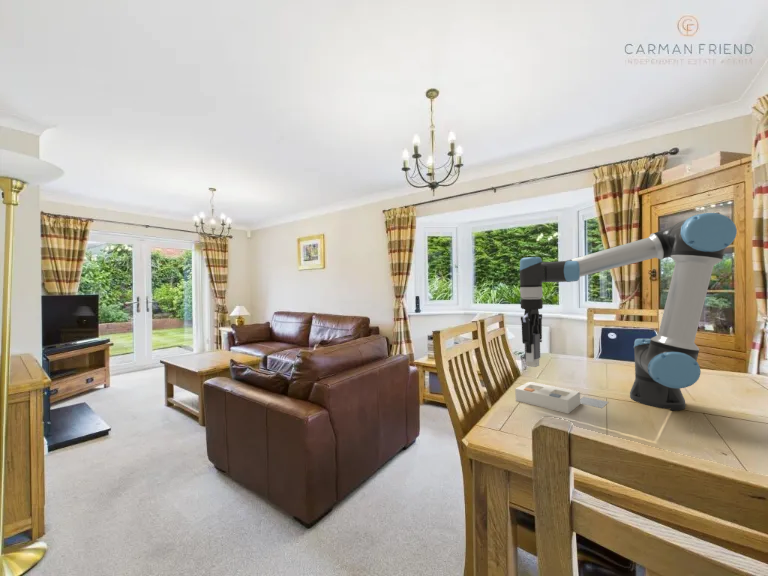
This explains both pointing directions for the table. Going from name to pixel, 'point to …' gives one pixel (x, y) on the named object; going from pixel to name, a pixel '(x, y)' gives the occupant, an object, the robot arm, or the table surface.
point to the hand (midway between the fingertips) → (532, 360)
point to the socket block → (548, 396)
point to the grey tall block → (535, 351)
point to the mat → (593, 402)
